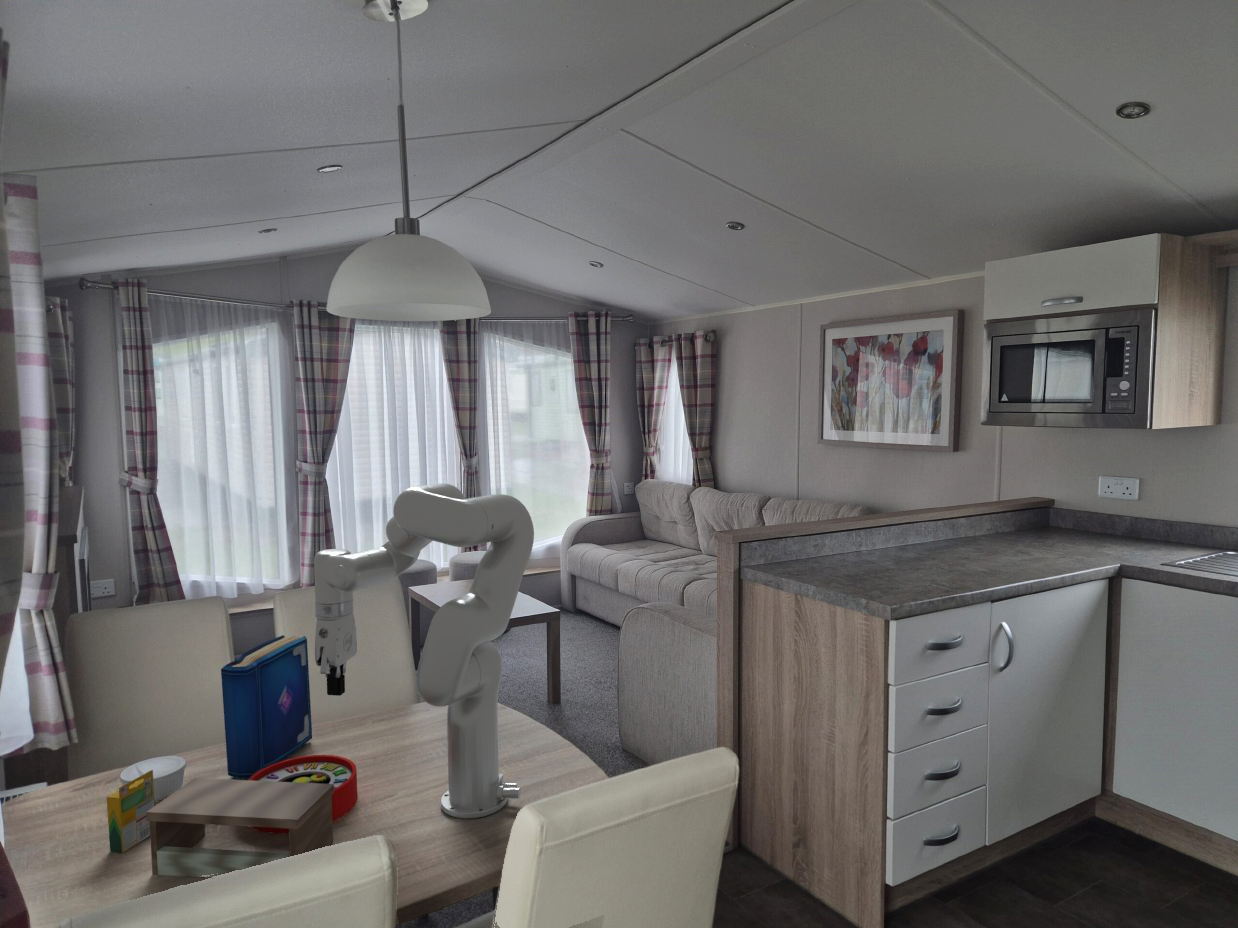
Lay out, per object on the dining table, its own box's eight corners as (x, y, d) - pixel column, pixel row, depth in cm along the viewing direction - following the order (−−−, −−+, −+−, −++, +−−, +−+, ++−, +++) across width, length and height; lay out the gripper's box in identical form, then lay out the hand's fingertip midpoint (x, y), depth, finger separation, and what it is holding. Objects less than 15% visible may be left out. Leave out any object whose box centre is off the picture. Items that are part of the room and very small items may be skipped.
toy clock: (338, 746, 163) (371, 781, 147) (339, 773, 163) (372, 811, 147) (233, 772, 151) (256, 814, 135) (235, 802, 152) (258, 847, 135)
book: (251, 784, 158) (246, 664, 157) (221, 782, 160) (215, 662, 158) (313, 741, 179) (309, 634, 178) (286, 739, 181) (282, 633, 179)
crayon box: (143, 829, 141) (140, 767, 141) (157, 831, 141) (154, 768, 140) (108, 851, 134) (105, 786, 133) (122, 853, 133) (119, 787, 133)
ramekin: (107, 804, 151) (105, 777, 151) (153, 777, 162) (152, 753, 162) (155, 810, 149) (154, 783, 148) (199, 783, 159) (198, 757, 159)
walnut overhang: (335, 842, 136) (333, 783, 136) (300, 883, 124) (297, 819, 124) (197, 834, 139) (194, 777, 139) (149, 874, 127) (146, 811, 127)
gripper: (334, 618, 156) (336, 708, 157) (367, 600, 170) (368, 682, 172) (298, 617, 156) (300, 706, 158) (334, 599, 171) (336, 680, 173)
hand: (336, 693), depth 165 cm, fingers closed
